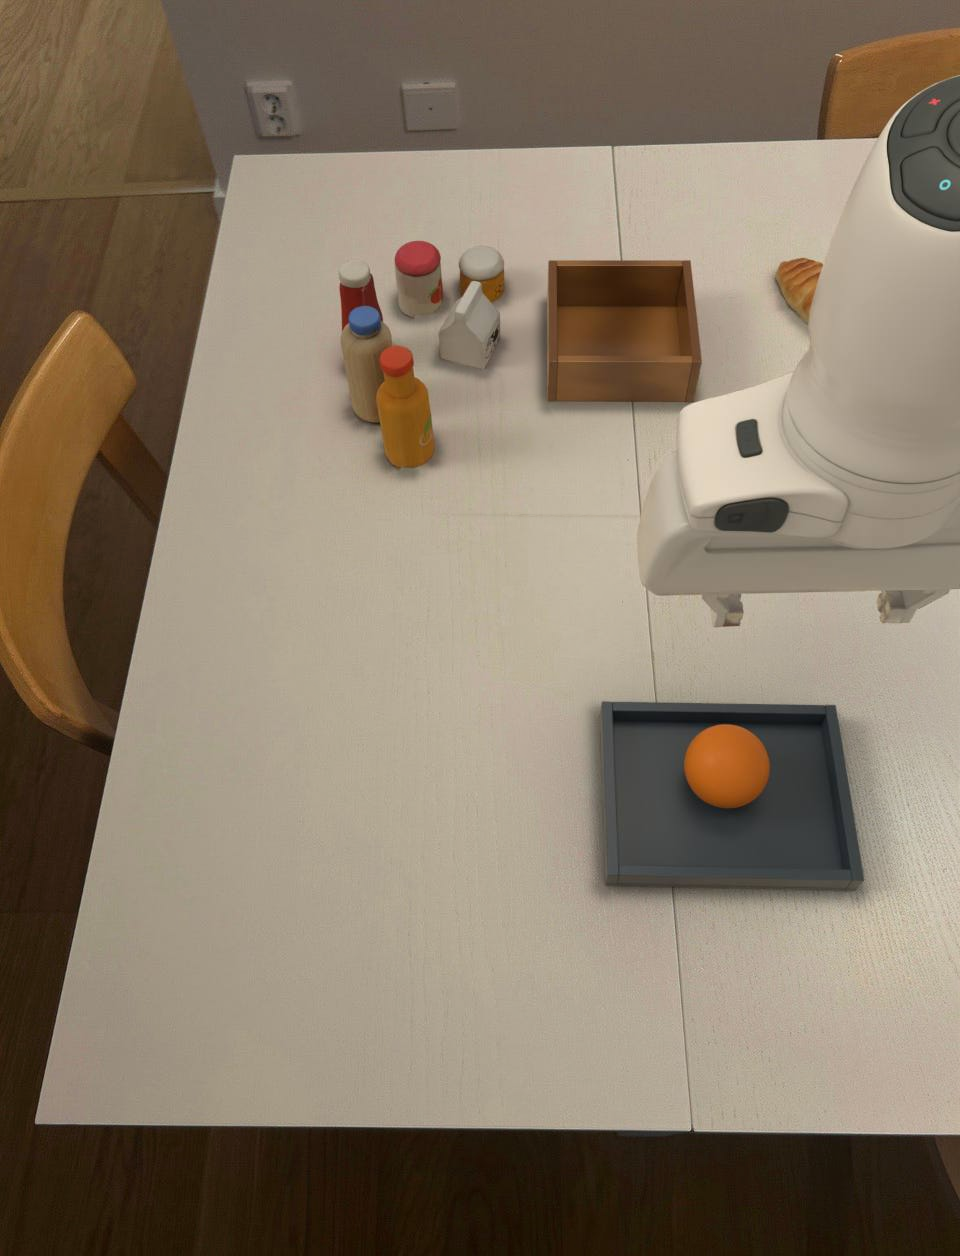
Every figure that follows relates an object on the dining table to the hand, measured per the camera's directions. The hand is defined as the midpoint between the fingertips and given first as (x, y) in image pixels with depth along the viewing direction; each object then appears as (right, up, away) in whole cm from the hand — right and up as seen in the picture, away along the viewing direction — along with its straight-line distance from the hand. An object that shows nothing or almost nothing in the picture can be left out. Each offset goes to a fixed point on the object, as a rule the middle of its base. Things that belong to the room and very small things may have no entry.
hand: (807, 615), depth 61 cm
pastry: (+15, +31, +46) cm, 58 cm away
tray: (-1, -13, +18) cm, 23 cm away
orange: (-1, -13, +18) cm, 22 cm away
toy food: (-24, +25, +43) cm, 55 cm away
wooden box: (-5, +26, +43) cm, 50 cm away
